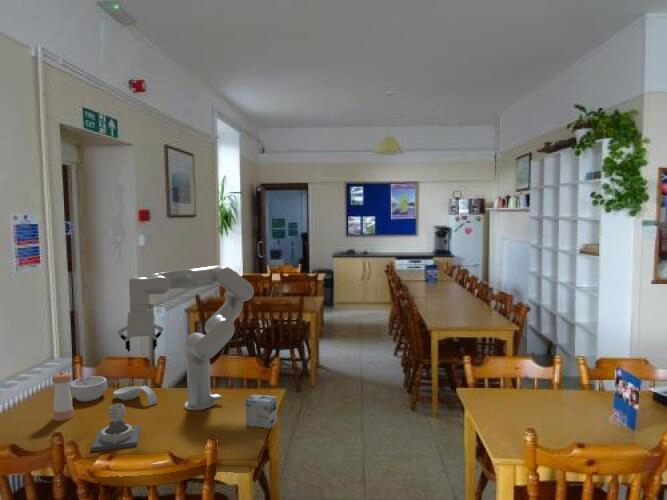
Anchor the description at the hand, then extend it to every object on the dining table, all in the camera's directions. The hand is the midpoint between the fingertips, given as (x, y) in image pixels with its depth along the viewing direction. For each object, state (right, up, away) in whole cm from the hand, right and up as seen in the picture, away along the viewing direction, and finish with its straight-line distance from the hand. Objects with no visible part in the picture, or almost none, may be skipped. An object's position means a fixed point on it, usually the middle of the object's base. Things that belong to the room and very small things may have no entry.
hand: (141, 349), depth 210 cm
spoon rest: (-11, -27, +23) cm, 38 cm away
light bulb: (-2, -28, -18) cm, 34 cm away
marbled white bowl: (-34, -27, +27) cm, 51 cm away
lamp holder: (-2, -30, -18) cm, 35 cm away
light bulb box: (+49, -28, -6) cm, 57 cm away
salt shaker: (-33, -29, +4) cm, 44 cm away
